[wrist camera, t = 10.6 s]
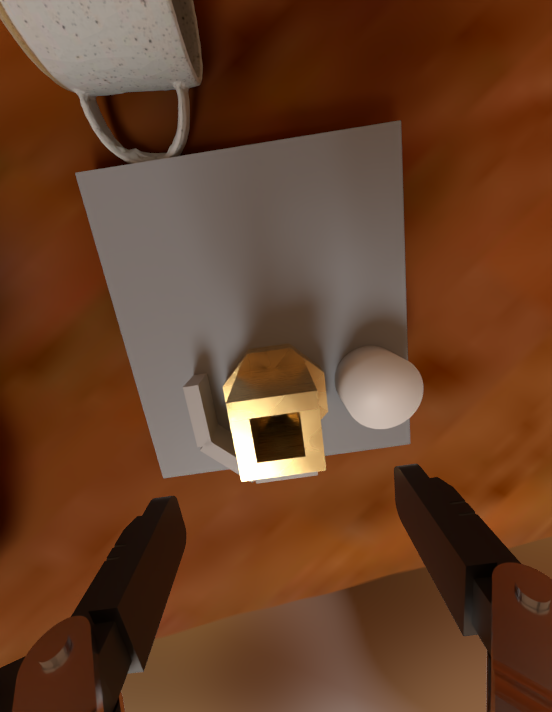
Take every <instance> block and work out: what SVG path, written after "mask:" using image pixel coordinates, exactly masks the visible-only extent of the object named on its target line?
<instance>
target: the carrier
mask: <svg viewBox="0 0 552 712" xmlns="http://www.w3.org/2000/svg"><path fill="white" fill-rule="evenodd" d="M75 174H76V178H77V181H78V185H79V188H80V192H81V195H82V199H83V202H84V206H85V209H86V212H87V216H88V219H89V223H90V226H91V230H92V233H93V237H94V240H95V244H96V247H97V250H98V254H99V257H100V261H101V264H102V268H103V271H104V275H105V278H106V282H107V285H108V289H109V292H110V295H111V299H112V302H113V306H114V309H115V313H116V316H117V320H118V323H119V327H120V330H121V333H122V337H123V340H124V344H125V347H126V351H127V354H128V358H129V361H130V365H131V368H132V371H133V375H134V378H135V382H136V385H137V389H138V392H139V396H140V399H141V403H142V406H143V409H144V413H145V416H146V420H147V423H148V427H149V430H150V434H151V437H152V441H153V444H154V447H155V451H156V454H157V458H158V461H159V465H160V468H161V472H162V475H163V478H169V477H176V476H183V475H190V474H197V473H205V472H212V471H219V470H226V469H231V470H232V471H234V472H236V473H237V474H239V475H240V471H239V466H238V461H237V456H236V452H235V447H234V442H233V437H232V432H231V427H230V422H229V417H228V412H227V407H226V402H225V397H224V392H223V385H224V383H225V381H226V379H227V378H228V377H229V375H230V374H231V373H232V371H233V370H234V369H235V367H236V366H237V364H238V363H239V362H240V360H241V359H242V358H243V356H244V355H245V354H246V352H247V351H248V350H249V349H253V348H260V347H267V346H274V345H281V344H288V343H289V344H291V345H292V346H293V347H295V348H296V349H297V350H299V351H300V352H301V353H303V354H304V355H305V356H307V357H308V358H309V359H311V360H312V361H313V362H315V363H316V364H318V365H319V366H320V367H321V368H322V370H323V372H324V376H325V386H326V395H327V405H328V412H327V414H326V415H325V416H324V417H323V418H322V419H321V427H322V436H323V445H324V454H325V456H327V455H334V454H341V453H349V452H356V451H363V450H370V449H377V448H385V447H392V446H399V445H406V444H410V417H411V416H412V415H413V414H414V413H415V411H416V410H417V408H418V407H419V405H420V403H421V400H422V396H423V381H422V378H421V375H420V373H419V372H418V370H417V369H416V367H415V366H414V365H413V364H411V363H410V362H409V361H408V346H407V311H406V276H405V241H404V206H403V171H402V136H401V120H400V121H393V122H387V123H381V124H375V125H369V126H363V127H356V128H350V129H344V130H338V131H332V132H325V133H319V134H313V135H307V136H301V137H294V138H288V139H282V140H276V141H270V142H264V143H257V144H251V145H245V146H239V147H233V148H226V149H220V150H214V151H208V152H202V153H196V154H189V155H183V156H177V157H171V158H165V159H158V160H152V161H146V162H140V163H134V164H127V165H121V166H115V167H109V168H103V169H97V170H90V171H84V172H78V173H75ZM280 415H281V414H280ZM280 415H273V416H272V417H279V416H280ZM315 475H318V473H317V472H310V473H302V474H295V475H287V476H280V477H272V478H265V479H257V480H256V484H257V483H264V482H271V481H278V480H286V479H293V478H300V477H308V476H315ZM253 481H254V480H250V482H252V483H253Z"/></svg>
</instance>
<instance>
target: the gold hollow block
mask: <svg viewBox="0 0 552 712" xmlns="http://www.w3.org/2000/svg"><path fill="white" fill-rule="evenodd" d="M223 392H224V397H225V402H226V407H227V412H228V417H229V422H230V427H231V432H232V437H233V442H234V447H235V452H236V456H237V461H238V466H239V471H240V476H241V481H250V480H257V479H265V478H272V477H280V476H287V475H295V474H302V473H310V472H317V471H325V470H326V463H325V454H324V445H323V436H322V427H321V419H322V418H323V417H324V416H325V415H326V414H327V412H328V405H327V395H326V386H325V376H324V372H323V370H322V368H321V367H320V366H319V365H318V364H316V363H315V362H313V361H312V360H311V359H309V358H308V357H307V356H305V355H304V354H303V353H301V352H300V351H299V350H297V349H296V348H295V347H293V346H292V345H291V344H289V343H288V344H281V345H274V346H267V347H260V348H253V349H249V350H248V351H247V352H246V354H245V355H244V356H243V358H242V359H241V360H240V362H239V363H238V364H237V366H236V367H235V369H234V370H233V371H232V373H231V374H230V375H229V377H228V378H227V379H226V381H225V383H224V385H223ZM280 414H281V415H280ZM273 415H280V416H279V417H272V416H273Z"/></svg>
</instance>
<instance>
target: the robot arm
mask: <svg viewBox="0 0 552 712" xmlns="http://www.w3.org/2000/svg"><path fill="white" fill-rule="evenodd" d="M394 480H395V501H396V507H397V511H398V514H399V517H400V519H401V522H402V524H403V525H404V527H405V529H406V531H407V533H408V535H409V536H410V538H411V540H412V542H413V544H414V546H415V548H416V549H417V551H418V553H419V555H420V557H421V559H422V561H423V562H424V564H425V566H426V568H427V570H428V572H429V573H430V575H431V577H432V579H433V581H434V583H435V584H436V586H437V588H438V590H439V592H440V594H441V596H442V598H443V599H444V601H445V603H446V605H447V607H448V609H449V611H450V612H451V614H452V616H453V618H454V619H455V622H456V623H457V625H458V627H459V629H460V631H461V633H462V635H463V636H470V635H479V637H480V639H481V640H482V642H483V644H484V646H485V647H486V649H487V682H486V685H487V686H486V687H487V688H486V712H552V579H551V578H550V577H548V576H547V575H545V574H543V573H542V572H540V571H538V570H536V569H534V568H532V567H529V566H526V565H523V564H521V563H520V562H519V561H518V560H517V559H516V557H515V556H514V555H513V554H512V553H511V552H510V551H509V550H508V548H507V547H506V546H505V545H504V544H503V543H502V542H501V541H500V539H499V538H498V537H497V536H496V535H495V534H494V533H493V531H492V530H491V529H490V528H489V527H488V526H487V525H486V524H485V522H484V521H483V520H482V519H481V518H480V517H479V516H478V515H477V514H475V511H474V510H473V509H472V508H471V507H470V506H469V504H468V503H466V502H465V500H464V499H463V498H462V497H461V495H460V494H459V493H458V492H457V491H456V490H455V489H454V488H453V487H452V486H451V485H449V484H447V483H446V482H444V481H443V480H441V479H440V478H438V477H435V478H429V477H428V476H427V474H426V473H425V472H424V471H423V469H422V468H421V467H420V466H419V465H418V464H411V465H403V466H396V467H395V468H394ZM185 545H186V528H185V525H184V521H183V518H182V514H181V511H180V507H179V504H178V501H177V498H176V497H175V496H168V497H161V498H154V499H152V500H151V501H150V503H149V505H148V506H147V508H146V510H145V512H144V514H143V515H142V516H137V517H136V518H135V519H134V520H133V521H132V522H131V523H130V524H129V525H128V526H127V527H126V528H125V529H124V530H123V532H122V534H121V535H120V537H119V539H118V540H117V542H116V544H115V547H114V548H112V550H111V552H110V553H109V555H108V557H107V560H106V561H105V562H104V563H103V565H102V567H101V568H100V570H99V572H98V573H97V575H96V576H95V578H94V580H93V581H92V583H91V585H90V586H89V588H88V590H87V591H86V593H85V595H84V596H83V598H82V599H81V601H80V603H79V604H78V606H77V608H76V609H75V611H74V613H73V614H72V616H71V617H70V618H67V619H65V620H63V621H61V622H60V623H58V624H56V625H55V626H54V627H52V628H51V629H50V630H48V631H47V632H46V633H45V634H44V635H43V636H42V637H41V638H40V639H39V640H38V641H37V642H36V643H35V644H34V645H33V647H32V648H31V649H30V651H29V652H28V654H27V655H26V656H25V657H23V658H21V659H19V660H16V661H14V662H12V663H10V664H8V665H6V666H3V667H1V668H0V712H125V708H124V702H123V696H122V693H121V689H122V687H123V684H124V681H125V679H126V676H127V673H136V672H144V669H145V666H146V662H147V660H148V656H149V654H150V651H151V648H152V645H153V641H154V639H155V636H156V633H157V630H158V627H159V624H160V621H161V618H162V615H163V612H164V609H165V606H166V603H167V600H168V597H169V594H170V591H171V588H172V585H173V582H174V579H175V576H176V573H177V570H178V567H179V564H180V561H181V558H182V555H183V552H184V549H185Z"/></svg>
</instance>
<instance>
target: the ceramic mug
mask: <svg viewBox="0 0 552 712" xmlns="http://www.w3.org/2000/svg"><path fill="white" fill-rule="evenodd" d="M0 19H1V20H2V22H3V23H4V25H5V26H6V28H7V29H8V30H9V32H10V33H11V35H12V36H13V38H14V39H15V40H16V42H17V43H18V44H19V46H20V47H21V48H22V50H23V51H24V52H25V53H26V55H27V56H28V57H29V58H30V59H31V60H32V61H33V63H34V64H35V65H36V66H37V67H38V68H39V69H40V70H41V71H42V72H43V73H45V74H46V75H47V76H48V77H49V78H51V79H52V80H53V81H54V82H55V83H57V84H58V85H60V86H61V87H63V88H64V89H66V90H69V91H72V92H75V93H76V94H77V95H78V96H79V98H80V102H81V106H82V108H83V110H84V113H85V116H86V118H87V119H88V121H89V123H90V125H91V127H92V129H93V130H94V132H95V133H96V134H97V136H98V137H99V139H100V140H101V141H102V143H103V144H104V145H105V146H106V147H107V148H108V149H109V150H110V151H111V152H113V153H114V154H115V155H116V156H118V157H119V158H121V159H122V160H124V161H126V162H127V163H129V164H134V163H140V162H146V161H152V160H158V159H165V158H171V157H177V156H180V155H181V153H182V151H183V149H184V147H185V145H186V143H187V139H188V134H189V128H190V102H189V95H188V90H189V88H192V87H196V86H199V85H200V84H201V82H202V74H203V64H202V57H201V44H200V38H199V32H198V25H197V17H196V13H195V8H194V2H193V0H0ZM171 89H175V90H176V91H177V95H178V102H179V104H178V128H177V133H176V136H175V138H174V140H173V143H172V145H170V147H169V150H168V152H167V153H146V152H141V151H139V150H138V149H136V148H134V149H130V150H128V149H126V148H124V147H123V146H122V145H121V144H120V143H119V142H118V141H117V140H116V139H115V138H114V136H113V135H112V133H111V131H110V129H109V128H108V127H107V125H106V123H105V120H104V118H103V116H102V114H101V112H100V110H99V107H98V105H97V102H96V96H104V95H107V96H108V95H114V94H121V93H125V92H138V91H141V92H143V91H157V90H165V91H167V90H171Z"/></svg>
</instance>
